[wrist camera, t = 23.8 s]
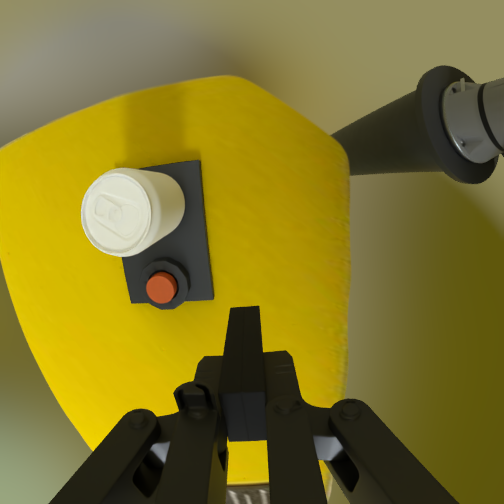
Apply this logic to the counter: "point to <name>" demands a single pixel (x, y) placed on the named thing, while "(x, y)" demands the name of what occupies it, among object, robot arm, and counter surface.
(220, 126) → the counter surface
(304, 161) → the counter surface
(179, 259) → the warming base
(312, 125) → the counter surface
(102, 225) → the beverage can
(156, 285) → the button
